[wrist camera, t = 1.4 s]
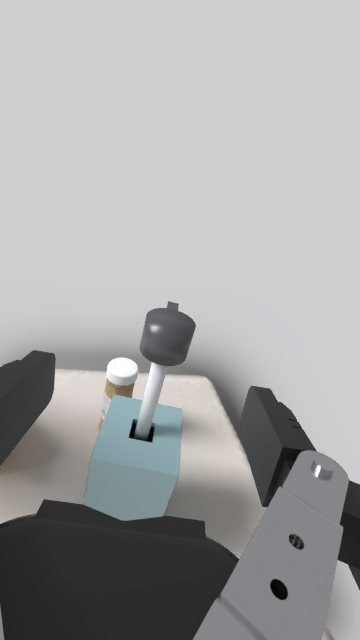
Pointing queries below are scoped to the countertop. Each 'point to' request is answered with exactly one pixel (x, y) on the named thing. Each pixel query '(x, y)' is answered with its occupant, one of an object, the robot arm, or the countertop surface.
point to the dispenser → (134, 462)
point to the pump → (161, 356)
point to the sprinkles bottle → (118, 382)
